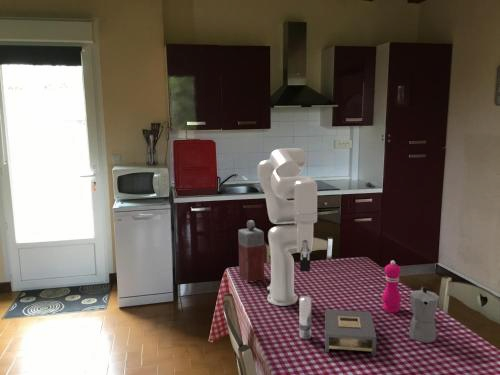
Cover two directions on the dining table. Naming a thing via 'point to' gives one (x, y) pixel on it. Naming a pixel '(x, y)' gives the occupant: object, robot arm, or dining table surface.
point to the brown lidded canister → (251, 253)
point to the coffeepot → (423, 315)
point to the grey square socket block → (349, 331)
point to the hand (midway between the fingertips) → (305, 266)
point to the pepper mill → (392, 288)
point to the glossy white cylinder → (305, 317)
